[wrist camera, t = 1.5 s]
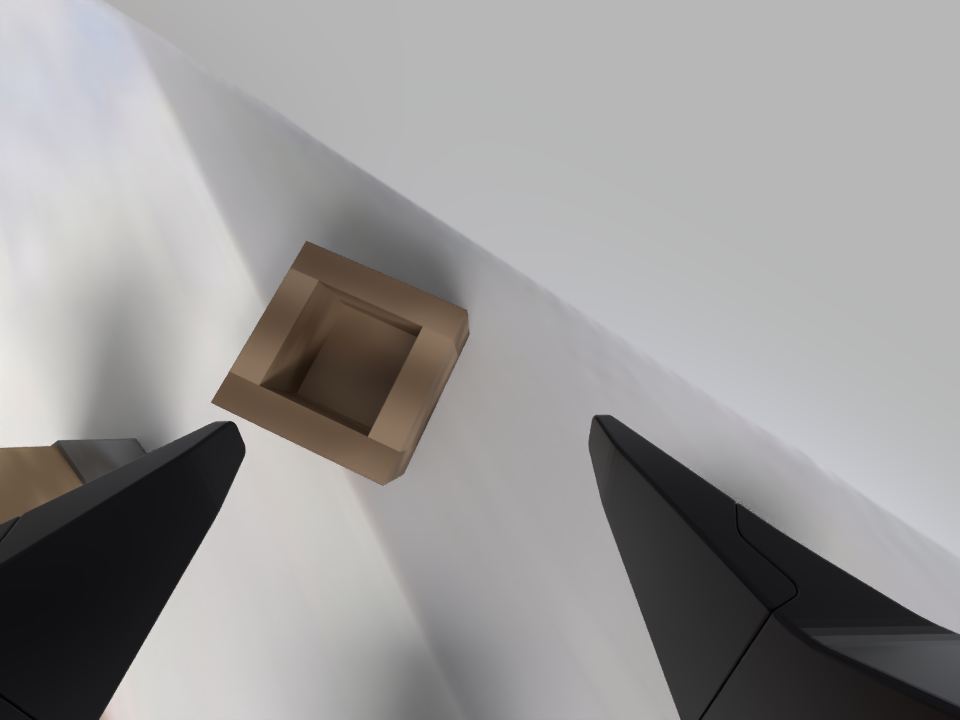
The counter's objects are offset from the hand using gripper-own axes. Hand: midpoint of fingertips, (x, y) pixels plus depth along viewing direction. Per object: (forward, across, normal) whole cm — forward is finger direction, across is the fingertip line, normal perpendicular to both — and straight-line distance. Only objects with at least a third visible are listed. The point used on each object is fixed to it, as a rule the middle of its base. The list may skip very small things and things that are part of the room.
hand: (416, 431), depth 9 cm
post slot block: (+14, +6, +6) cm, 16 cm away
